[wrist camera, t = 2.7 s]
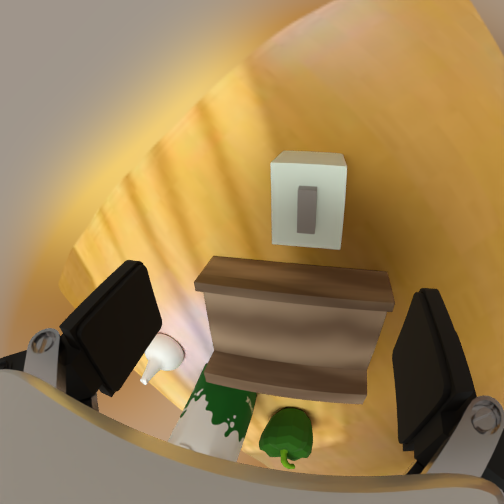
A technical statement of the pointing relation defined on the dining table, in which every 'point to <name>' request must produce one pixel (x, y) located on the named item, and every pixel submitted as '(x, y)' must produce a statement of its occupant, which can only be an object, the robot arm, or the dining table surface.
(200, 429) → the milk carton
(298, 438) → the bell pepper
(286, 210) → the cabinet
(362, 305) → the shelf
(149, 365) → the garlic bulb
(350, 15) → the dining table surface
